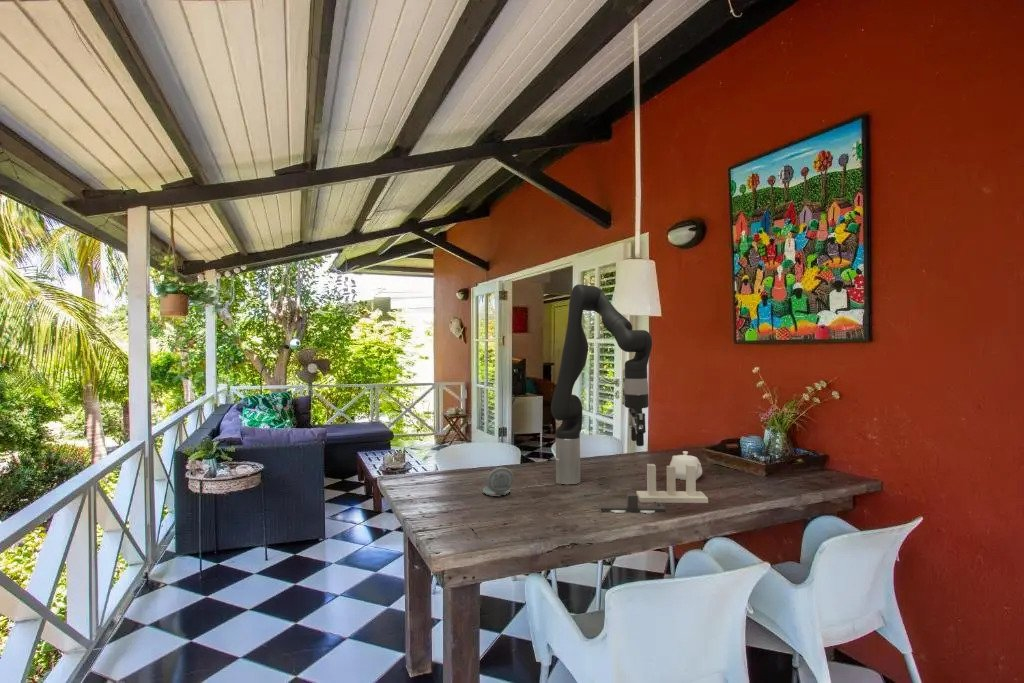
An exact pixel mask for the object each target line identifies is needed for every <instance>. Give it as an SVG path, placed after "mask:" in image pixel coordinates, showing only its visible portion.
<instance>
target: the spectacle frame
mask: <svg viewBox="0 0 1024 683" xmlns="http://www.w3.org/2000/svg"><path fill="white" fill-rule="evenodd" d="M598 507H600V508H599V511H600V510H601V511H611V512H610V513H612V512H614V513H613V514H616V513H622V514H625V513H624V512H626V513H640V512H641V513H640V514H644V513H646V514H645V515H651V514H652V513H653V514H655V512H665V513H666V507H665V506H664V505H663V504H662V503H661V502H658V503H657V505H655V506H654V505H653V506H652V505H651V506H650V505H648V506H647V505H645V506H644V505H639V499H638V496H637V494H636V492H627V493H626V505H603V504H602V501H598ZM601 511H600V512H601Z"/></svg>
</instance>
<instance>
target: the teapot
mask: <svg viewBox="0 0 1024 683" xmlns="http://www.w3.org/2000/svg"><path fill="white" fill-rule="evenodd" d="M688 453H689V451H686V450H685V451H682V454H677V455H672V456H671V461H670V462H669V463H670V464H669V466H675V476H676V480H679V479H680V481H686V464H693V465H695V473H696V481H697V480H698V479H699V478H700V477H701V476H702V474H703V468H702V465H701V462H700V460H699V458H698V457H697V456H693V455H690V454H688Z"/></svg>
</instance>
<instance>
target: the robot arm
mask: <svg viewBox="0 0 1024 683" xmlns="http://www.w3.org/2000/svg"><path fill="white" fill-rule="evenodd" d="M568 303H569V304H568V316H567V325H566V333H565V338H564V342H563V347H562V353H561V360H560V365H559V370H558V375H557V376H558V377H557V380H556V385H555V388H554V392H553V395H552V399H551V404H550V411H551V415H552V417H553V418H554V419H555V420H556V421H561V424H560V426H558V427H557V428H556V429H555V431H554V432H555V484H556V483H561V484H577V483H579V484H581V432H582V427H583V405H582V401H581V398H580V397H578V396H577V395H575V394H573V388H574V387H575V384H576V382H577V380H578V379H579V377H580V375H581V373H583V372H582V371H584V368H585V366H586V363H587V359H588V352H589V342H588V340H587V337H586V334H585V330H584V328H583V313H584V311H586V312H587V311H588V312H595V313H596V314H598V315H600V316H601V323H602V325H603V327H604V328H605V329H606V330H607V332H609V334H611V335H612V336H613V337H614V340H615V341H616V343H617V345H618V348H619V349H620V350H622V351H623V352H626V353H634V356H633V358H631V359H628V360H626V361H625V363H624V384H623V385H624V386H623V388H624V389H623V391H624V392H623V395H624V407H625V408H627V409H628V412H629V413H628V414H629V416H628V419H629V421H628V422H629V423H628V425H629V428H630V438H631V441H632V442H635V444H636V447H643V446H644V445H645V442H644V439H645V438H644V434H646V432H647V431H646V414H645V412H643V409H647V408H649V406H650V403H649V401H650V399H649V381H648V363H649V360H650V356H651V351H652V347H653V338H652V335H651V334H650V332H648V330H645V329H634V330H633V324H632V323H631V321H629V319H627V318H626V317H625V316H624V315H622V314H621V313H620V312H619V311H618V310H617V308H615V307H614V305H613V304H612V303H611V302H610V300H609V299H608V297H607V296H606V295H605V293H604V292H603V290H602V289H601V288H600V287H597V286H594V285H587V284H579V283H577V284H576V285H574V286H573V288H572V289H571V292H570V295H569V302H568ZM561 484H560V485H561ZM577 485H578V484H577Z"/></svg>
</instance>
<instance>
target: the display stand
mask: <svg viewBox="0 0 1024 683" xmlns="http://www.w3.org/2000/svg"><path fill="white" fill-rule="evenodd" d="M676 480H677V479H676V476H675V466H670V465H666V491H665V490H657V465H655V463H647V464H646V484H647V486H646V489H647V490H636V492H635V493H636V494H637V496H638V502H640V503H654V502H656V503H657V504H658V502H661V504H662V503H664V504H665V503H669V504H671V503H672V504H674V503H675V504H676V503H677V504H678V503H679V504H682V503H683V504H685V503H686V504H709V498H708V497H707V496H706V495H705V494H704V493H703V492H702V491H701V490H699V491H697V489H696V483H697V480H696V473H695V465H693V464H686V480H685V484H686V485H685V491H684V490H683V491H681V490H679V491H677V490H676V484H677V483H676Z"/></svg>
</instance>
